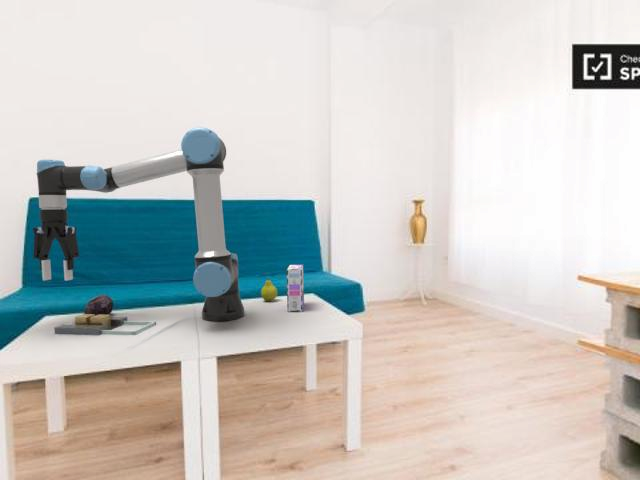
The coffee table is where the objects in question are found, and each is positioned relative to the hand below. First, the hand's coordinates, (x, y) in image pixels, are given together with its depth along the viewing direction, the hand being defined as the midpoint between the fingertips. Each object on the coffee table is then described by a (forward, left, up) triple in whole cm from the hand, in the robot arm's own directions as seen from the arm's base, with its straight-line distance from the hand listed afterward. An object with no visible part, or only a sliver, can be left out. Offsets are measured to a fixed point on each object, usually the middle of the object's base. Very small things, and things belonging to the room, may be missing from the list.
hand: (57, 279), depth 134 cm
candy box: (-70, -39, -17) cm, 82 cm away
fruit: (-56, -51, -17) cm, 77 cm away
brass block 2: (-15, 0, -16) cm, 21 cm away
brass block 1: (-9, 0, -16) cm, 18 cm away
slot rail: (-12, 0, -17) cm, 21 cm away
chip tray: (-25, 0, -17) cm, 30 cm away
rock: (-3, -15, -17) cm, 23 cm away
